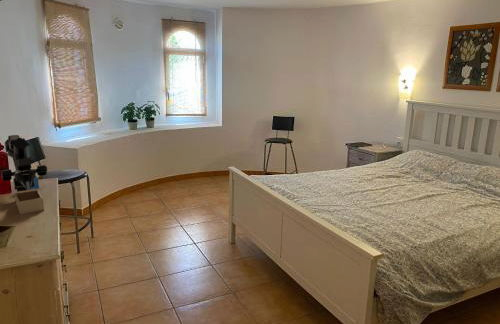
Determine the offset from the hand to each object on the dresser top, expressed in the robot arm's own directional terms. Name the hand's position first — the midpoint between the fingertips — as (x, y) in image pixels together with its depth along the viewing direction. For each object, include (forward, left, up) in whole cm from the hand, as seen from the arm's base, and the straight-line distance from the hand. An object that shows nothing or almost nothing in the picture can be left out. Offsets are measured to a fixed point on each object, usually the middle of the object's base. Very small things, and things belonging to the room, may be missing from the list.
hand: (28, 187), depth 177 cm
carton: (-3, -3, -12) cm, 12 cm away
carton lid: (-3, -3, -3) cm, 6 cm away
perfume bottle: (-29, -23, -12) cm, 39 cm away
